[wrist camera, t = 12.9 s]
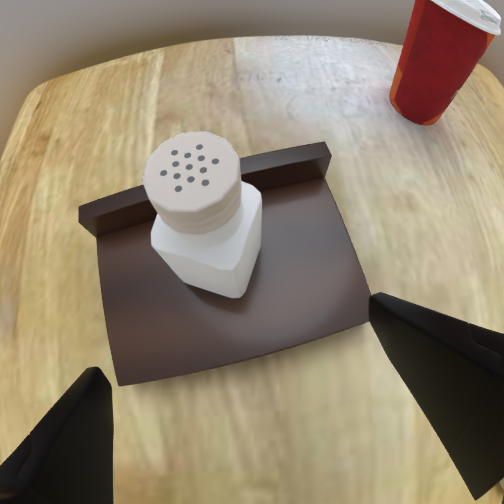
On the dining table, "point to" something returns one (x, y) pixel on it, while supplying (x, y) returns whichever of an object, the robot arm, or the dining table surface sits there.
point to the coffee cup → (440, 55)
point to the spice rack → (259, 287)
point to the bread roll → (502, 483)
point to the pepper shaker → (204, 212)
